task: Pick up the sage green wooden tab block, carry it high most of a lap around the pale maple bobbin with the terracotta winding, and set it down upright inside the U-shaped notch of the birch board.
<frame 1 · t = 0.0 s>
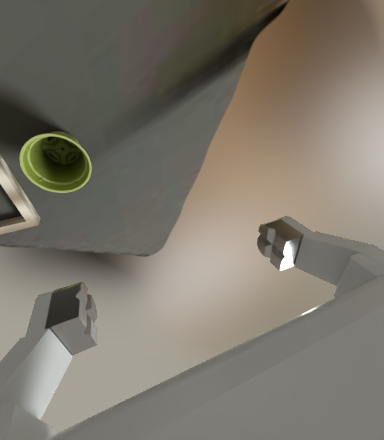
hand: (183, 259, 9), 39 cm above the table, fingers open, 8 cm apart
plant pot: (62, 147, 39), on the table
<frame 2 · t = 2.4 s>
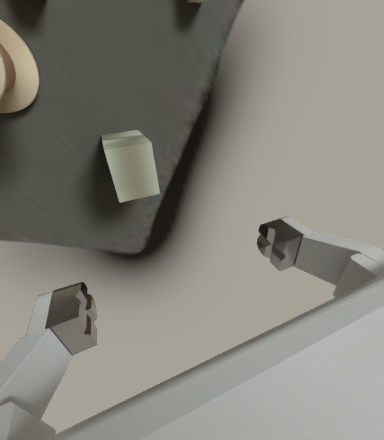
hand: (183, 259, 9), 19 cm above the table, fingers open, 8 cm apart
tab block: (125, 154, 25), on the table
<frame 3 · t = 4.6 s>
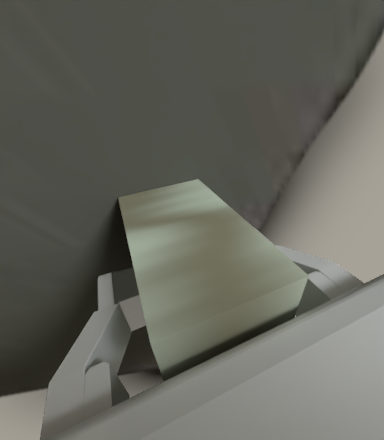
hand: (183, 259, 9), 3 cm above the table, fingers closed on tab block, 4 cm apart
tab block: (167, 229, 12), on the table, touching gripper
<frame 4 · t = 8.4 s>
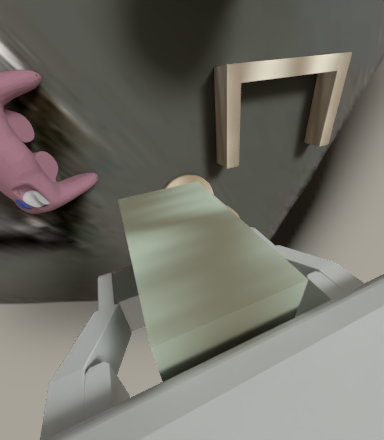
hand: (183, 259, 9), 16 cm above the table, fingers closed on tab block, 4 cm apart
tab block: (167, 231, 12), point 13 cm above the table, touching gripper
bobbin: (186, 200, 27), on the table
notched board: (271, 117, 25), on the table
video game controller: (41, 142, 19), on the table
when the fingers open (4 cm above the table, at t = 12.3 s): tab block drops 2 cm, on the table.
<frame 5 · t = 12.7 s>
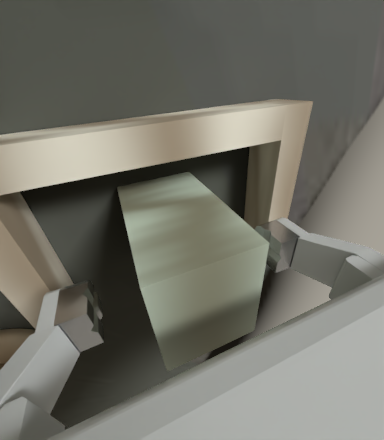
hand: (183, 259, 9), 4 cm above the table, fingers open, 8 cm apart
tab block: (161, 217, 13), on the table
bobbin: (5, 364, 14), on the table
notched board: (161, 216, 13), on the table
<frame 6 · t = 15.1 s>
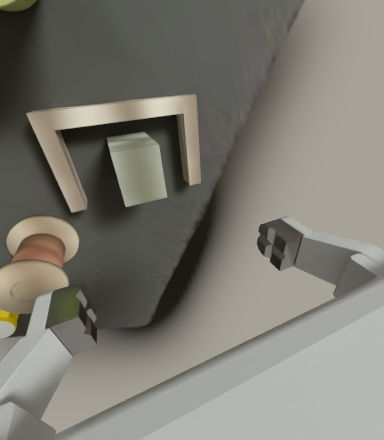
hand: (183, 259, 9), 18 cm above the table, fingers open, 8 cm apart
tab block: (130, 157, 24), on the table
bobbin: (46, 240, 25), on the table
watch: (16, 288, 27), on the table
notched board: (130, 156, 24), on the table
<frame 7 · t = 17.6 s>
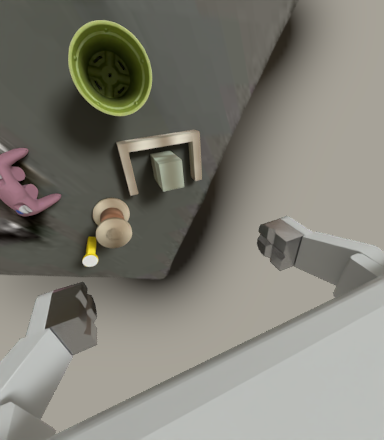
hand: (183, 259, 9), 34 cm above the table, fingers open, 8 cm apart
tab block: (161, 164, 42), on the table
bobbin: (111, 213, 43), on the table
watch: (90, 243, 45), on the table
plant pot: (109, 76, 32), on the table
notched board: (161, 164, 42), on the table
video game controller: (29, 178, 35), on the table
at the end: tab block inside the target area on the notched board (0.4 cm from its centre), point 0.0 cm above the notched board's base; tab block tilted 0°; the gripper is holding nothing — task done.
